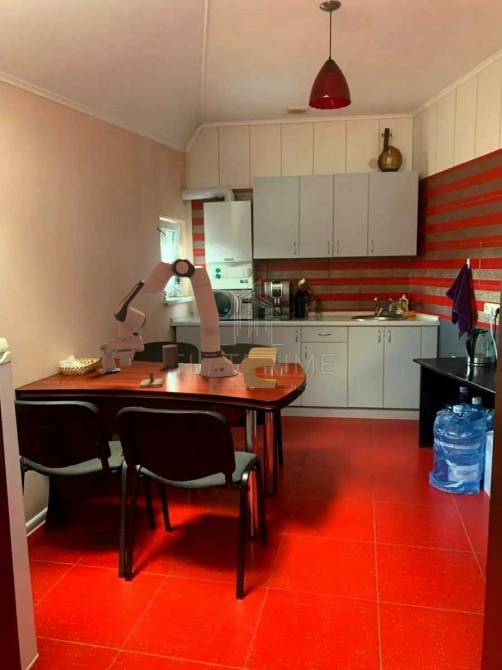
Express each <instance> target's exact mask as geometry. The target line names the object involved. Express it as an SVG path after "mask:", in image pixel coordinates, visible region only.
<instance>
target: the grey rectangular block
mask: <svg viewBox="0 0 502 670" xmlns="http://www.w3.org/2000/svg"><path fill="white" fill-rule="evenodd" d="M129 354H131V352H130V350H120V351H119V358H118V359H119V367H129V366H131V365H132V361H131V358H130V357H129Z"/></svg>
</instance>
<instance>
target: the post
mask: <svg viewBox="0 0 502 670" xmlns="http://www.w3.org/2000/svg"><path fill="white" fill-rule="evenodd" d="M149 378H150V379H149ZM149 378H148V379H141V381H140V383H139V388H140V387H144V388H159V387H160V386H162V387H163V386H164V383H165V382H164V381H165V379H164V378H154V372H149Z"/></svg>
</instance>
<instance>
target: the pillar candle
mask: <svg viewBox="0 0 502 670" xmlns="http://www.w3.org/2000/svg"><path fill="white" fill-rule="evenodd" d="M161 350H162V362H163V366H162V367H163V368H164V369H176V368H179V367H180V366H179V365H180V364H179V347H178V344H167V345H162V349H161Z"/></svg>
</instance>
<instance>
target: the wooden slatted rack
mask: <svg viewBox="0 0 502 670" xmlns="http://www.w3.org/2000/svg"><path fill="white" fill-rule="evenodd" d="M277 356H278V347H251V348H250V350H249V351H248V354H247V357H246V358H243V360H242V361H241V362H240V373H242V374H243V382H244V385H245V386H246V387H247V388H248V387H255V388H274V389H275V388H276V385H277V379H267V378H260V377H258V376H256V374H255V372H256V371H255V370H256V369H257V368H262V367H274V366H275V364H276V362H277Z"/></svg>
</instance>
